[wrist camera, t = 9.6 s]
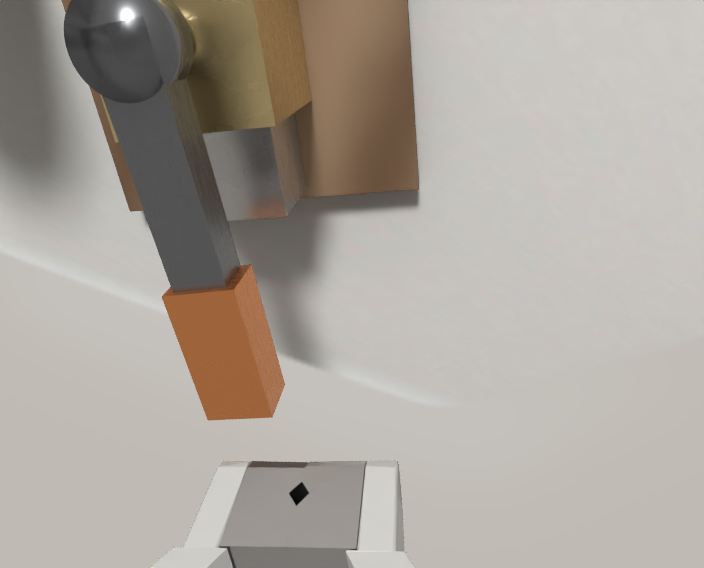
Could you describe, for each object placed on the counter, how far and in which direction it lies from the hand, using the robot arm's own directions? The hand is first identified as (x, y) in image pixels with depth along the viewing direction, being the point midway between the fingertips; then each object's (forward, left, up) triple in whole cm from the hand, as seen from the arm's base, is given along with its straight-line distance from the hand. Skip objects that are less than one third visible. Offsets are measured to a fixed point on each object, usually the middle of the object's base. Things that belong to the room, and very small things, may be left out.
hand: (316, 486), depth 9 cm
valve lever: (-5, +2, -9) cm, 10 cm away
